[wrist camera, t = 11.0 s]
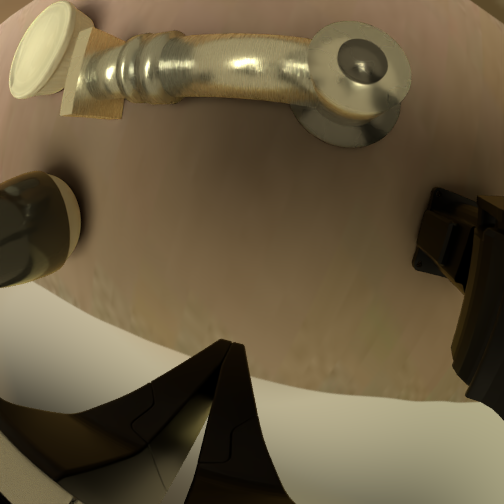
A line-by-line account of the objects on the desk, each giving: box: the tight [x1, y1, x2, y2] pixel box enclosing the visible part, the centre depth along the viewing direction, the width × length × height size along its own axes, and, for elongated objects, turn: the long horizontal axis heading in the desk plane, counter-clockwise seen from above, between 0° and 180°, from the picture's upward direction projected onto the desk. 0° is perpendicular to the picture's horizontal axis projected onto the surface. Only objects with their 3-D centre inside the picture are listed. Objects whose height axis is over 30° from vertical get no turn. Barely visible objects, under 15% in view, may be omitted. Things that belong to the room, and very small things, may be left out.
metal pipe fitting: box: [60, 27, 401, 148], centre depth 14 cm, size 23×8×6 cm, turn 81°
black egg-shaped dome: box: [0, 171, 81, 288], centre depth 16 cm, size 10×10×15 cm
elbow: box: [134, 21, 411, 127], centre depth 13 cm, size 15×5×6 cm, turn 82°
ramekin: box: [9, 1, 94, 99], centre depth 15 cm, size 11×11×5 cm
